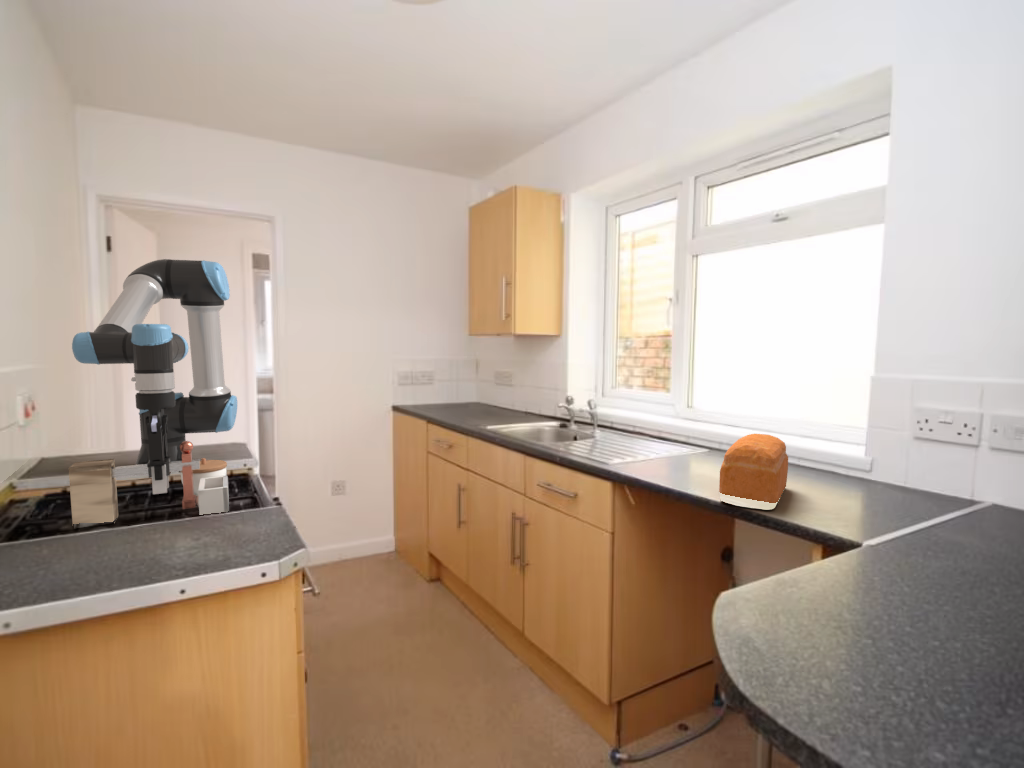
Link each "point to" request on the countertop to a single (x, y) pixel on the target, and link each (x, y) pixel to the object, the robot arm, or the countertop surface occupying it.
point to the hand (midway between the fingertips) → (161, 490)
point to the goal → (213, 495)
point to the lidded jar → (207, 471)
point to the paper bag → (93, 492)
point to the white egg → (197, 501)
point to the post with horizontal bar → (185, 466)
